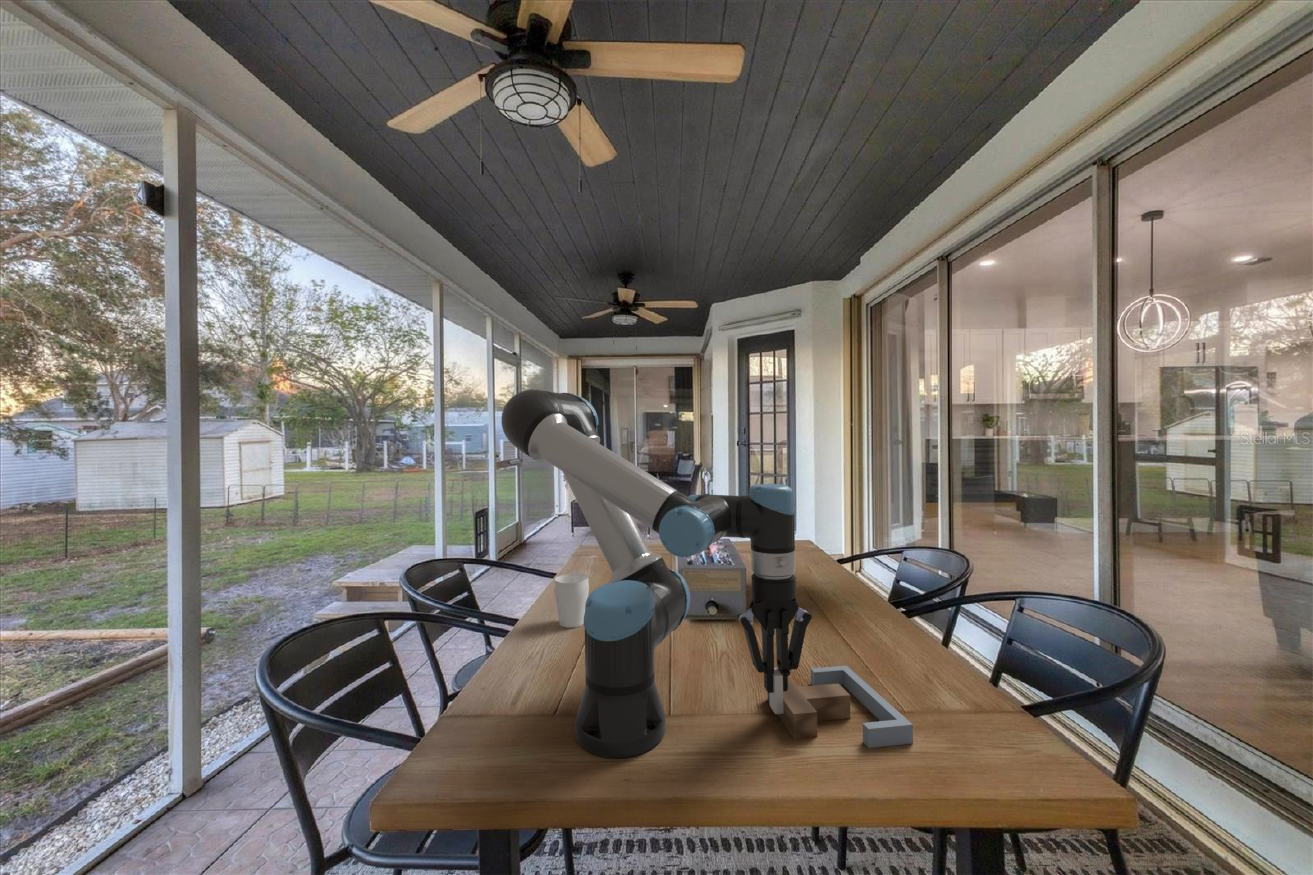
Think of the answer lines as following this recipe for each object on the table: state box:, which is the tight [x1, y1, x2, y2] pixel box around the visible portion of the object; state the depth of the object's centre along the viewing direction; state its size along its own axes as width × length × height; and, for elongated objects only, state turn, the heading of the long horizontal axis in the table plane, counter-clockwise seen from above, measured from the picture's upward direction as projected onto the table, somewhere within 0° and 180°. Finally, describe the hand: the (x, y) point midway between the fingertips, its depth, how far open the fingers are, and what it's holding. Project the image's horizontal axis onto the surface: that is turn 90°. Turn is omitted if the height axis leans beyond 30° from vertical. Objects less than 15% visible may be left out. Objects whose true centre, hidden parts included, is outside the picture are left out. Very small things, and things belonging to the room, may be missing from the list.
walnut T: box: [766, 676, 851, 740], centre depth 85 cm, size 12×12×4 cm
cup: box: [554, 572, 590, 629], centre depth 128 cm, size 9×9×12 cm
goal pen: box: [810, 665, 914, 749], centre depth 86 cm, size 8×20×3 cm, turn 8°
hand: (776, 709), depth 84 cm, fingers closed
